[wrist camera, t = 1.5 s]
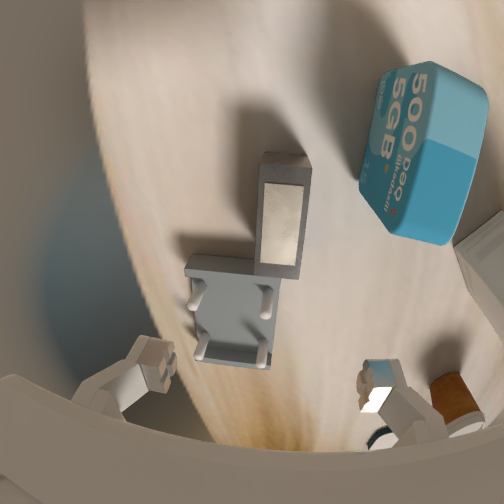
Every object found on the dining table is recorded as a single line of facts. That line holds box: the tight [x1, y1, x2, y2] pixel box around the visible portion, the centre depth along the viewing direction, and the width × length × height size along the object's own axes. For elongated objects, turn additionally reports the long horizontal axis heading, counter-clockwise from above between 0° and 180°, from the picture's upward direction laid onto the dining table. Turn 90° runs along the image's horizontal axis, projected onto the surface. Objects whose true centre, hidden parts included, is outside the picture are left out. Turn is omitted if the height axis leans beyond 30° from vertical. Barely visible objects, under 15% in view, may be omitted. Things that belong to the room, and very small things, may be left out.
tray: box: [184, 254, 281, 370], centre depth 34 cm, size 15×10×5 cm
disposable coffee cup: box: [430, 372, 486, 438], centre depth 35 cm, size 10×10×12 cm
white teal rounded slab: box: [368, 427, 399, 450], centre depth 49 cm, size 24×12×2 cm, turn 91°
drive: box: [254, 152, 312, 280], centre depth 26 cm, size 10×4×6 cm, turn 178°
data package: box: [359, 61, 489, 246], centre depth 19 cm, size 12×4×12 cm, turn 172°
